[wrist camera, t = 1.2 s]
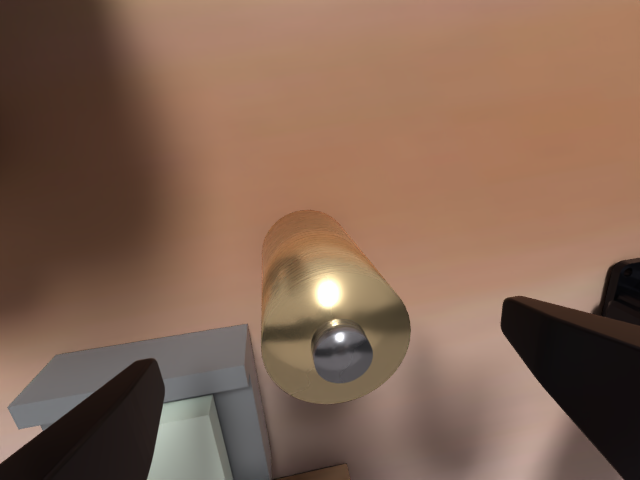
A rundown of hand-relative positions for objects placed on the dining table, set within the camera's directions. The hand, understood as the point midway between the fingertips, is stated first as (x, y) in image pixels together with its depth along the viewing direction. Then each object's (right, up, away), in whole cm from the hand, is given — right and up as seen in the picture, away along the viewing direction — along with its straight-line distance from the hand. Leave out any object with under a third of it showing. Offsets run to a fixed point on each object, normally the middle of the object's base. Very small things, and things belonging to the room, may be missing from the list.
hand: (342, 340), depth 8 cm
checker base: (-7, -6, +7) cm, 12 cm away
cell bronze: (-1, +2, +6) cm, 6 cm away
